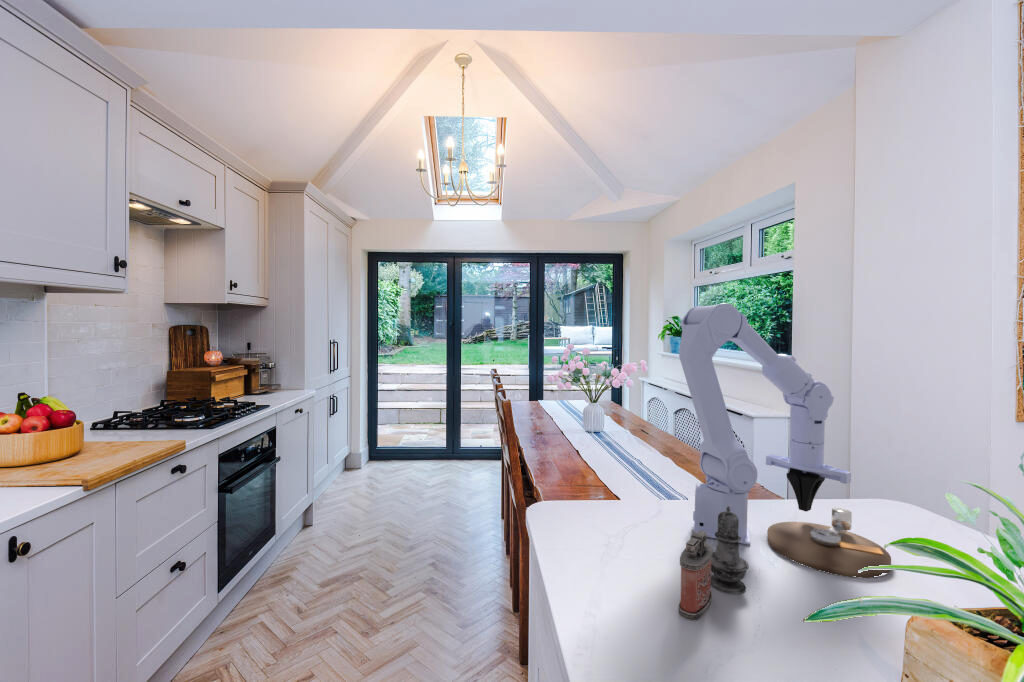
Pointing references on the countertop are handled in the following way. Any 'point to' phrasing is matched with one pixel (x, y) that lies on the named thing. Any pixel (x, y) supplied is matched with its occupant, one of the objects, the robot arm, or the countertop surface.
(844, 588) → the countertop surface
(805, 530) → the dial plate
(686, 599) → the lighter
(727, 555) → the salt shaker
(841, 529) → the silver dumbbell
